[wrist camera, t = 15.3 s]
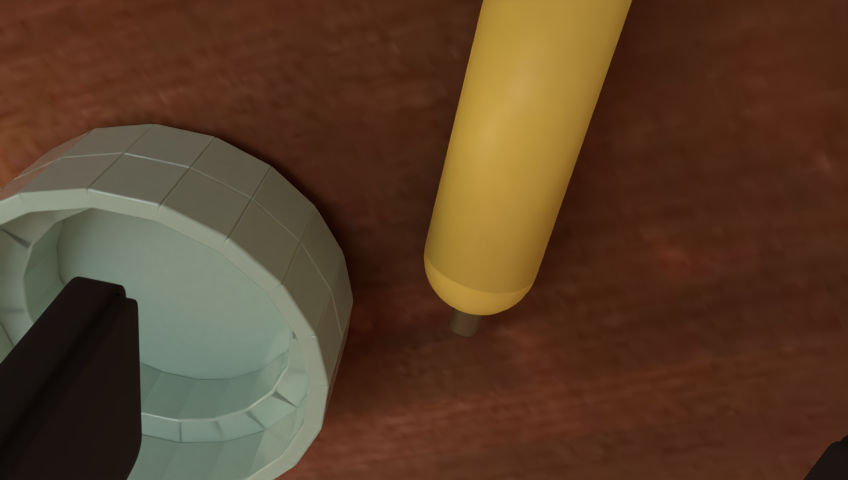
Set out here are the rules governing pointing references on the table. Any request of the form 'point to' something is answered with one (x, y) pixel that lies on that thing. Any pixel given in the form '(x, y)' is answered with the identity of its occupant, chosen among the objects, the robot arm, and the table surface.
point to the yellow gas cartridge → (515, 147)
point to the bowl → (189, 290)
